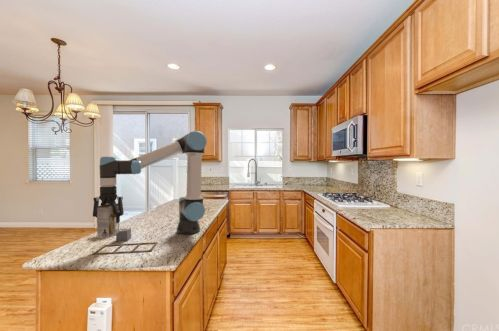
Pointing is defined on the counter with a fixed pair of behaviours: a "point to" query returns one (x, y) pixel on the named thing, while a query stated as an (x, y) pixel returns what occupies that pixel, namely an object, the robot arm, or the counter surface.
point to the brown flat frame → (125, 251)
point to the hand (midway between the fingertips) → (108, 229)
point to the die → (123, 235)
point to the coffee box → (106, 221)
